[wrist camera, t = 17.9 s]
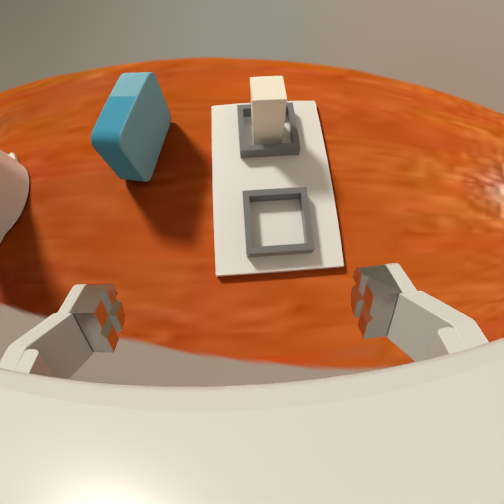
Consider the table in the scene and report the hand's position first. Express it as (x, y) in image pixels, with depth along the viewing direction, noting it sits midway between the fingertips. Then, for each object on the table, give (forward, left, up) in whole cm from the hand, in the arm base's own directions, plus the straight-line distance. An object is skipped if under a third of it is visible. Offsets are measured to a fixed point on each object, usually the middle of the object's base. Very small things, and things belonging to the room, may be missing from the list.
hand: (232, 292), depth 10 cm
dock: (+4, +18, -29) cm, 35 cm away
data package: (-14, +25, -30) cm, 41 cm away
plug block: (+4, +25, -28) cm, 38 cm away
